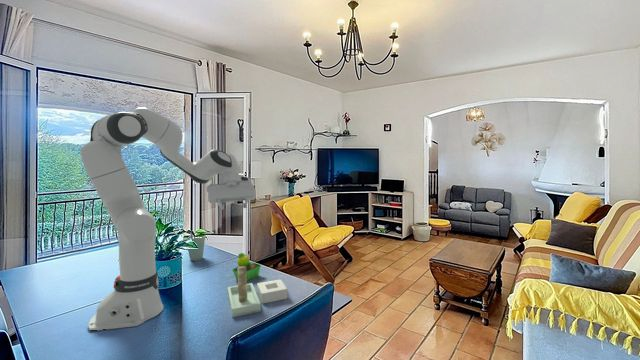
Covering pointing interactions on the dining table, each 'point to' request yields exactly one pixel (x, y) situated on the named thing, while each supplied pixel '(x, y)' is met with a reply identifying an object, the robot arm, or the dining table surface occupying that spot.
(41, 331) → the dining table surface
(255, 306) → the tray
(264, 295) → the socket block
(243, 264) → the fruit basket
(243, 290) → the dowel
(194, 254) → the beige plant pot
